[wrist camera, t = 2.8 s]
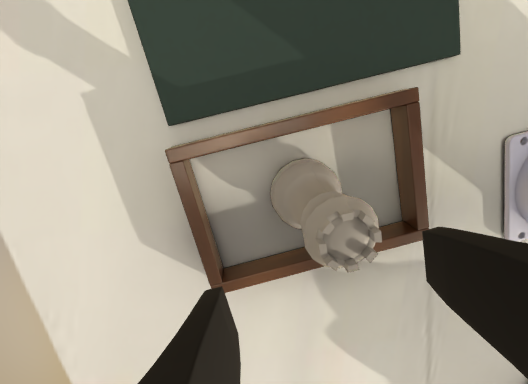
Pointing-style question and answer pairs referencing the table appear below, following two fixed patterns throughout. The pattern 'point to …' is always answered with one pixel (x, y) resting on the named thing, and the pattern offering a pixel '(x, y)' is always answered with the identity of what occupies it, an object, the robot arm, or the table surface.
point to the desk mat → (282, 47)
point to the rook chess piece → (325, 215)
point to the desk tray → (399, 102)
